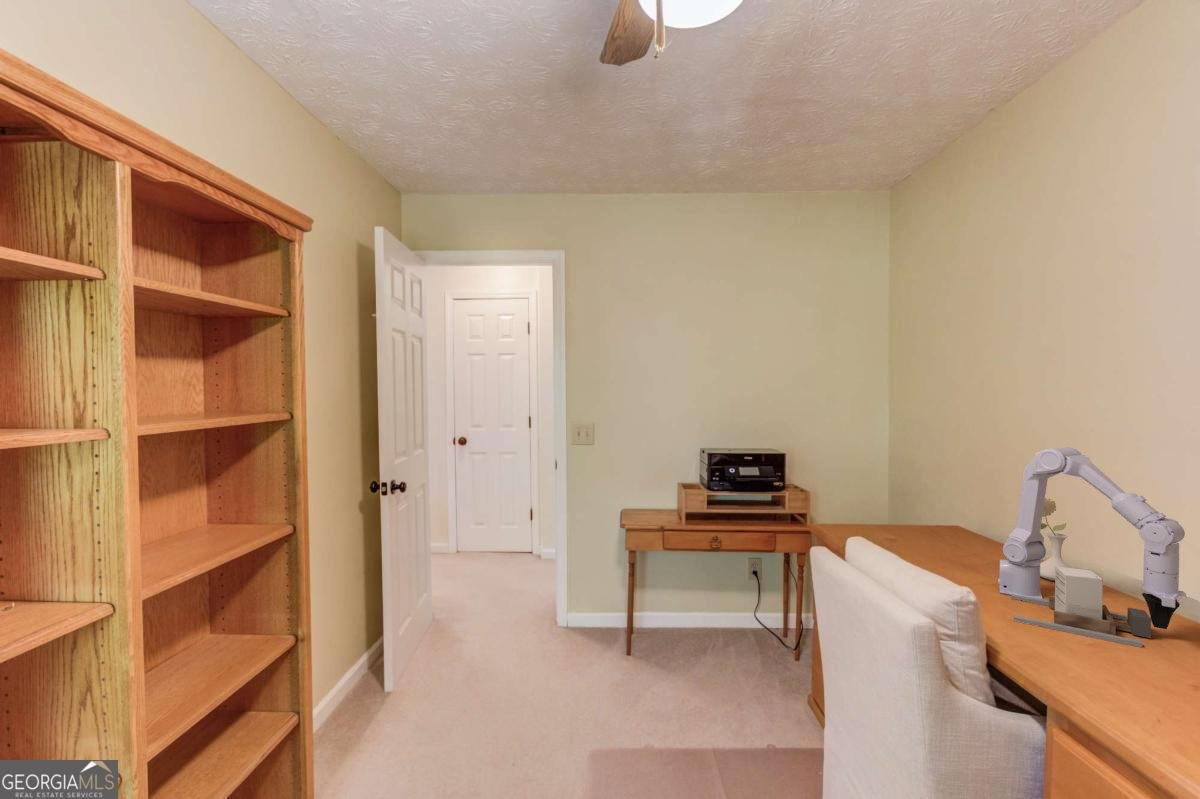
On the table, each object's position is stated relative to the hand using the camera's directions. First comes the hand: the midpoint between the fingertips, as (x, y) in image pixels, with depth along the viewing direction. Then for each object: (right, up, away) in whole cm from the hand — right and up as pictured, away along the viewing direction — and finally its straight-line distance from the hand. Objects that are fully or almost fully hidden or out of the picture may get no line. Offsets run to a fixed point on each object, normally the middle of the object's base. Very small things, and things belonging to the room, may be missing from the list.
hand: (1159, 627), depth 125 cm
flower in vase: (+8, -2, +39) cm, 40 cm away
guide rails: (-13, -2, +9) cm, 16 cm away
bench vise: (-9, -2, +6) cm, 11 cm away
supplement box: (-12, -3, +9) cm, 15 cm away
